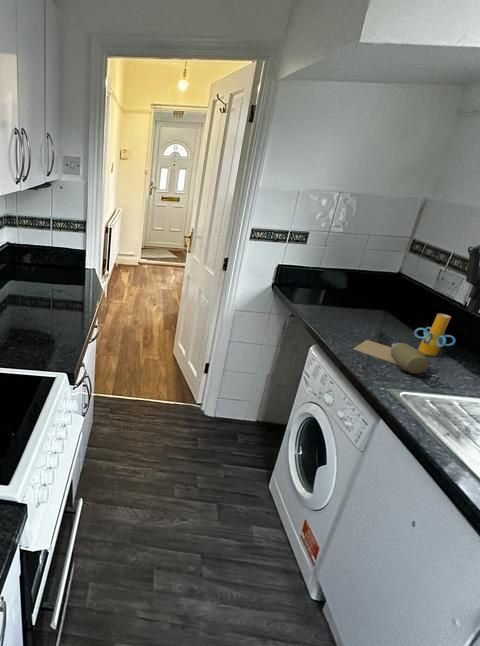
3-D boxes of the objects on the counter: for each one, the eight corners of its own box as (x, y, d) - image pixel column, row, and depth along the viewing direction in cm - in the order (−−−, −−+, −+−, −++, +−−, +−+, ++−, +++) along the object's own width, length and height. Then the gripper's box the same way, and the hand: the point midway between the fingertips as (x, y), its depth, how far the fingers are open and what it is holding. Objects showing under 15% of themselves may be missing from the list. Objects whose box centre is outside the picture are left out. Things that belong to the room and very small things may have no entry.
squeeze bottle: (405, 355, 133) (382, 334, 150) (402, 377, 136) (379, 355, 152) (434, 354, 131) (407, 334, 148) (430, 377, 134) (404, 354, 151)
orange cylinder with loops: (403, 343, 160) (419, 307, 154) (432, 347, 159) (449, 311, 153) (421, 358, 149) (438, 320, 143) (452, 362, 148) (471, 324, 142)
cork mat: (420, 358, 149) (421, 356, 149) (409, 368, 141) (410, 367, 141) (366, 341, 162) (366, 339, 162) (352, 349, 153) (353, 348, 153)
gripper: (530, 222, 106) (490, 308, 115) (472, 217, 108) (438, 303, 118) (553, 226, 99) (509, 317, 108) (491, 221, 101) (453, 311, 111)
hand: (472, 310), depth 113 cm, fingers closed
